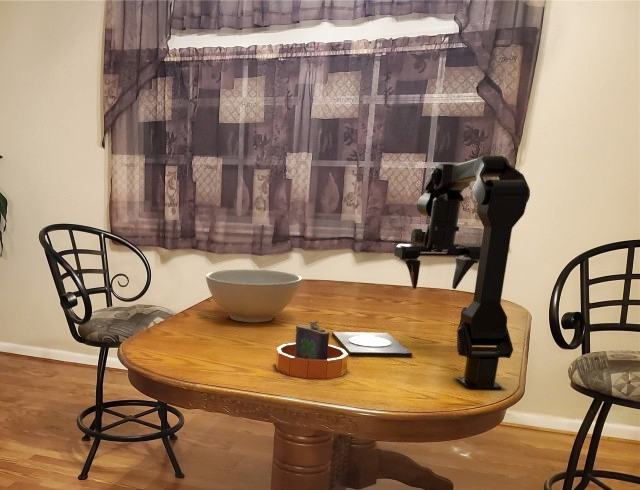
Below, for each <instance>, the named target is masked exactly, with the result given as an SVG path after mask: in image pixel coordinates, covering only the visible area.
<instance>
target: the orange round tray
mask: <svg viewBox="0 0 640 490" xmlns="http://www.w3.org/2000/svg"><path fill="white" fill-rule="evenodd" d="M295 343H296V342H292V343H287V344H286V343H284V344H281V345H280V346H278V347H276V348H275V349H276V350H275V363H274V364H275V365H274V366H275V368H276V370H277V372H280V373H283V374H285V375H287V376H291V377H297V378H300V379H301V378H302V379H310V380H311V379H314V380H327V379H333V378H338V377H339V378H340V377H342V376H343V375H344V374H346V373H347V367H348V357H349V354H348V353H347V352H346V351H345V350H344V349H343V348H342V347H338V346H335V345H332V344H328V357H327V359H305V358H298V357H294V354H295Z"/></svg>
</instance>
